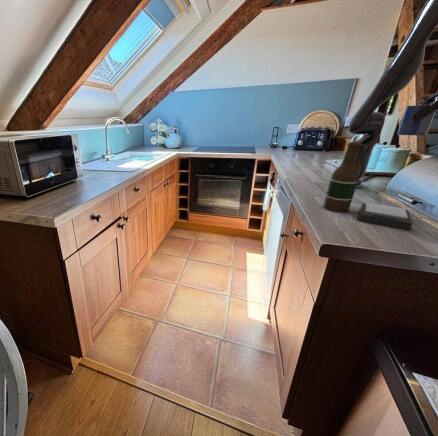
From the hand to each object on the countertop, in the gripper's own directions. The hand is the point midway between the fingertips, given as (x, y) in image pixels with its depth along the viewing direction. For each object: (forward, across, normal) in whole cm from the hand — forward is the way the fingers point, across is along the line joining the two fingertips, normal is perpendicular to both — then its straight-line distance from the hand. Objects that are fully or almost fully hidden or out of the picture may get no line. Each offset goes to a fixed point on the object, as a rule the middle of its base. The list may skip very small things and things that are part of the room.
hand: (409, 119), depth 72 cm
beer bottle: (+30, -3, +14) cm, 33 cm away
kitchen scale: (+21, +1, +23) cm, 31 cm away
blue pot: (+2, 0, +4) cm, 5 cm away
